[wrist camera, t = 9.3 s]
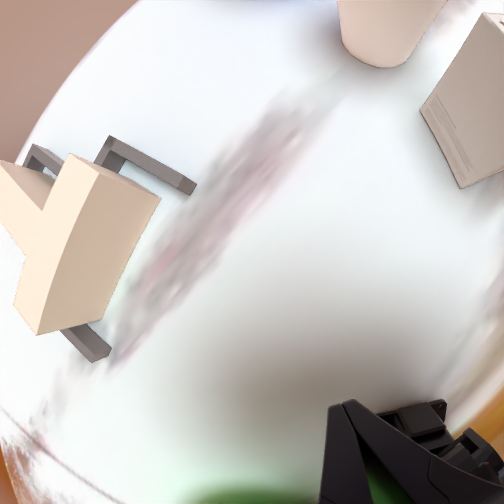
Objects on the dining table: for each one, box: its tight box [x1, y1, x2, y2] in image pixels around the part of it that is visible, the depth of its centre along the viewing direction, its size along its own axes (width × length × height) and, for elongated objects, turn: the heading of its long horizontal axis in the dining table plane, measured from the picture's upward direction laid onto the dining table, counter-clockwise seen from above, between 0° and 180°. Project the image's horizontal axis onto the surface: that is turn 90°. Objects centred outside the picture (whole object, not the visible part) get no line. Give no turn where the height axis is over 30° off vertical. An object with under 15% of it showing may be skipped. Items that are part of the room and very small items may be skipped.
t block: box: [0, 153, 161, 336], centre depth 20 cm, size 14×12×8 cm
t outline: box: [22, 135, 197, 363], centre depth 23 cm, size 20×17×2 cm
